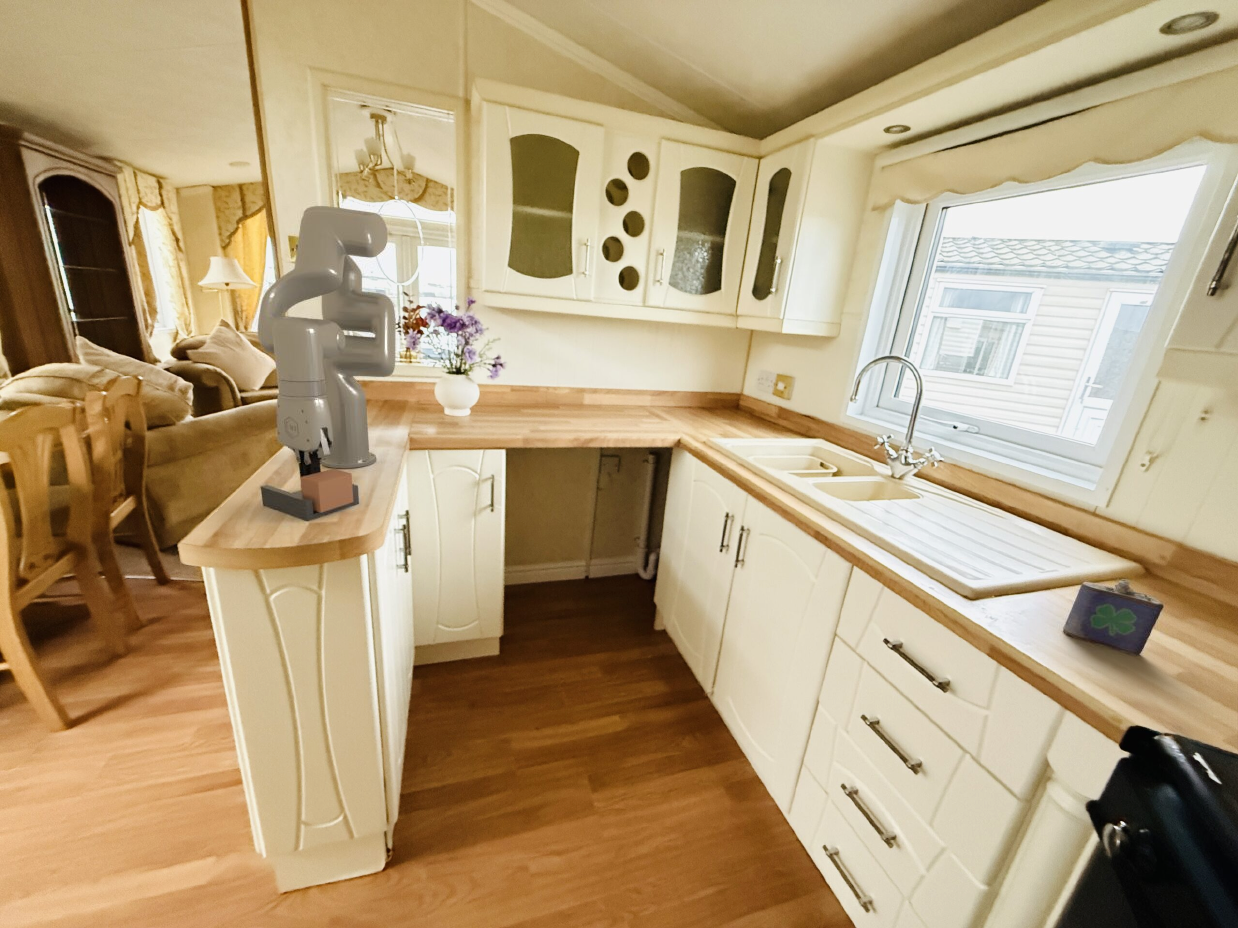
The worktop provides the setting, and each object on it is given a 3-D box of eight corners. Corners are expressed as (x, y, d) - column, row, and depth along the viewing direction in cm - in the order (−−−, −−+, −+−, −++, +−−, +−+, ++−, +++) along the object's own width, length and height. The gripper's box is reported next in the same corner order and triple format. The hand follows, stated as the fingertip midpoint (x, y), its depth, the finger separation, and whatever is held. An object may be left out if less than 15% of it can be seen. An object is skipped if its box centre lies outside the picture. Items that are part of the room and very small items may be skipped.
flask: (1064, 635, 78) (1089, 574, 75) (1059, 626, 80) (1083, 567, 77) (1143, 659, 73) (1173, 596, 70) (1136, 648, 76) (1164, 587, 73)
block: (303, 506, 95) (300, 477, 93) (336, 496, 101) (334, 468, 100) (320, 512, 93) (318, 482, 91) (353, 501, 99) (351, 473, 98)
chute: (262, 505, 97) (260, 486, 96) (316, 490, 107) (314, 472, 106) (307, 521, 92) (305, 501, 91) (359, 503, 102) (357, 485, 101)
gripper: (256, 385, 92) (267, 478, 97) (310, 396, 86) (319, 494, 92) (295, 382, 99) (304, 469, 104) (348, 392, 93) (354, 484, 98)
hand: (311, 481), depth 98 cm, fingers closed
